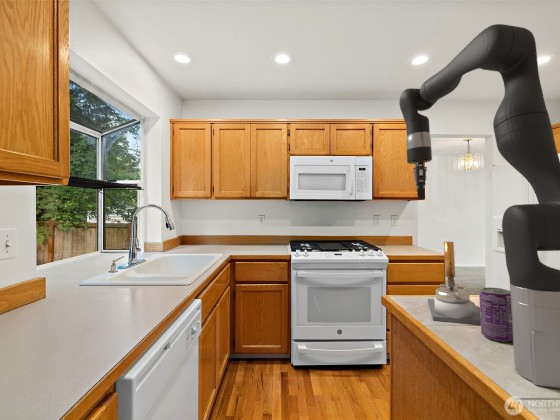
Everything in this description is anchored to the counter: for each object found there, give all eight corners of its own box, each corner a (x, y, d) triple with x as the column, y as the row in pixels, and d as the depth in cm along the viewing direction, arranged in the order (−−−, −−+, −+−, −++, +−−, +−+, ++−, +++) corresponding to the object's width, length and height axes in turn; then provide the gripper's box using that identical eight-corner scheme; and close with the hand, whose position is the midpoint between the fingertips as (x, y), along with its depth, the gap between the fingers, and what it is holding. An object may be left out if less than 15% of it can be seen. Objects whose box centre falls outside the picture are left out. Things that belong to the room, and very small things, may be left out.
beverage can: (509, 334, 76) (507, 287, 77) (521, 345, 70) (518, 294, 70) (477, 331, 79) (475, 286, 79) (486, 342, 72) (483, 293, 72)
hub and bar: (471, 304, 84) (467, 247, 85) (435, 301, 88) (432, 246, 89) (466, 289, 101) (463, 241, 101) (436, 287, 105) (434, 241, 106)
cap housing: (488, 325, 82) (487, 306, 83) (433, 320, 88) (432, 303, 88) (473, 305, 101) (472, 290, 101) (427, 302, 106) (427, 287, 106)
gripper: (433, 142, 91) (436, 197, 90) (429, 150, 103) (432, 199, 102) (406, 145, 94) (409, 199, 93) (406, 153, 106) (408, 201, 105)
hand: (421, 199), depth 98 cm, fingers closed
